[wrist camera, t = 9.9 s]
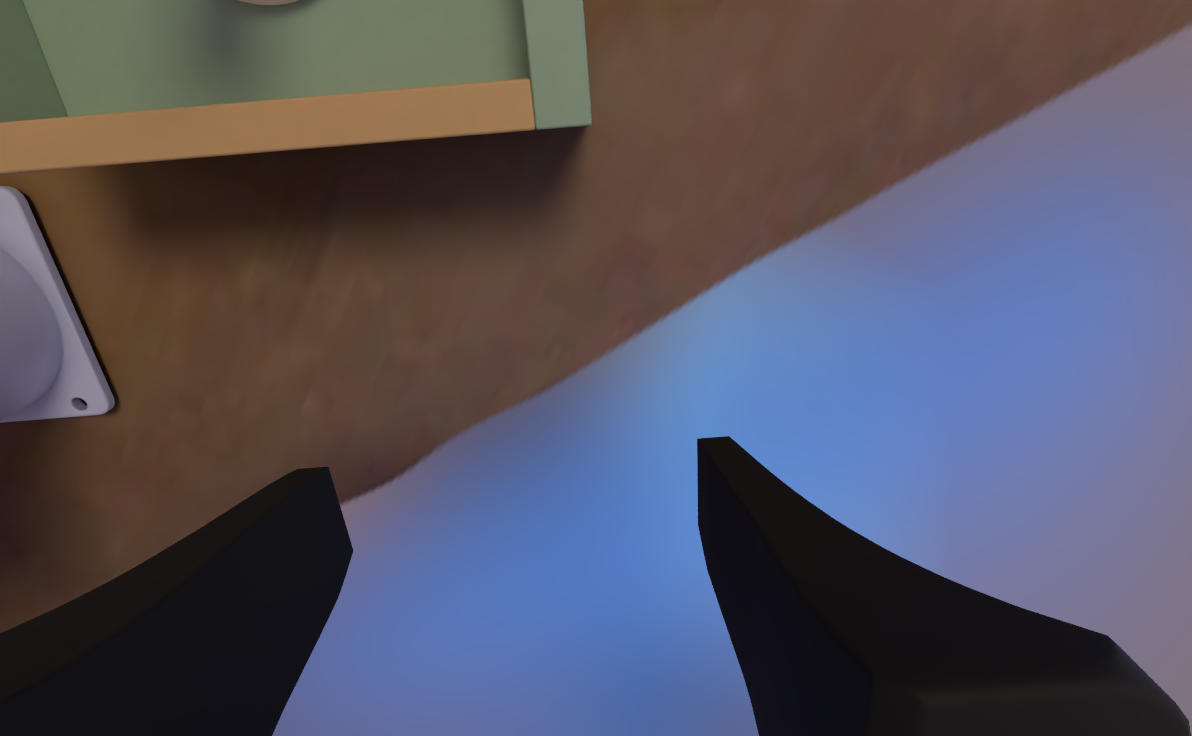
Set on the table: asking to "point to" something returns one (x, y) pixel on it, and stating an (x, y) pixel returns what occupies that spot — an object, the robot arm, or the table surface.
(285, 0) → the chess piece
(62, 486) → the table surface
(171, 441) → the table surface
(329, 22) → the shelf
